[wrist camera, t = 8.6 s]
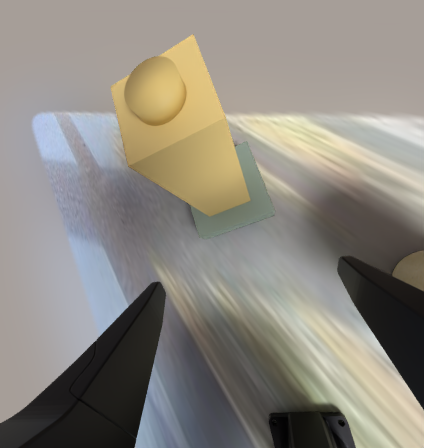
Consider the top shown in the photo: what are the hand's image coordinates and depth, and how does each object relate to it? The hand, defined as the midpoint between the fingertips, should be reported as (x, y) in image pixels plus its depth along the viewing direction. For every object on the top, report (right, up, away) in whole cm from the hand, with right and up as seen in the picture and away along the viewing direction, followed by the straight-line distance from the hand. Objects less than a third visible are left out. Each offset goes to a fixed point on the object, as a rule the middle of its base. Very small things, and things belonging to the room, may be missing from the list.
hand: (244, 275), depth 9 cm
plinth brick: (0, +6, +12) cm, 14 cm away
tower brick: (0, +6, +10) cm, 12 cm away
